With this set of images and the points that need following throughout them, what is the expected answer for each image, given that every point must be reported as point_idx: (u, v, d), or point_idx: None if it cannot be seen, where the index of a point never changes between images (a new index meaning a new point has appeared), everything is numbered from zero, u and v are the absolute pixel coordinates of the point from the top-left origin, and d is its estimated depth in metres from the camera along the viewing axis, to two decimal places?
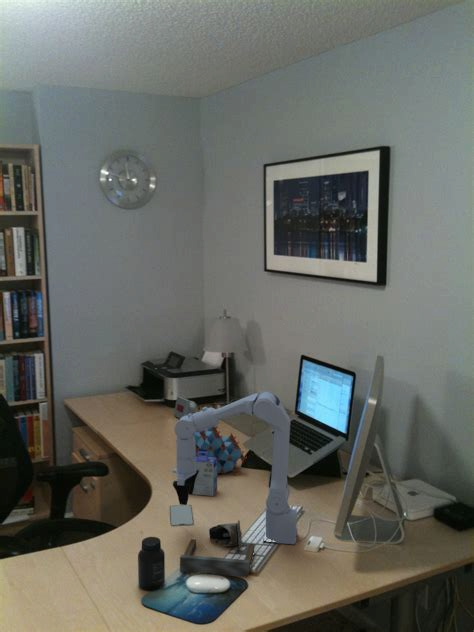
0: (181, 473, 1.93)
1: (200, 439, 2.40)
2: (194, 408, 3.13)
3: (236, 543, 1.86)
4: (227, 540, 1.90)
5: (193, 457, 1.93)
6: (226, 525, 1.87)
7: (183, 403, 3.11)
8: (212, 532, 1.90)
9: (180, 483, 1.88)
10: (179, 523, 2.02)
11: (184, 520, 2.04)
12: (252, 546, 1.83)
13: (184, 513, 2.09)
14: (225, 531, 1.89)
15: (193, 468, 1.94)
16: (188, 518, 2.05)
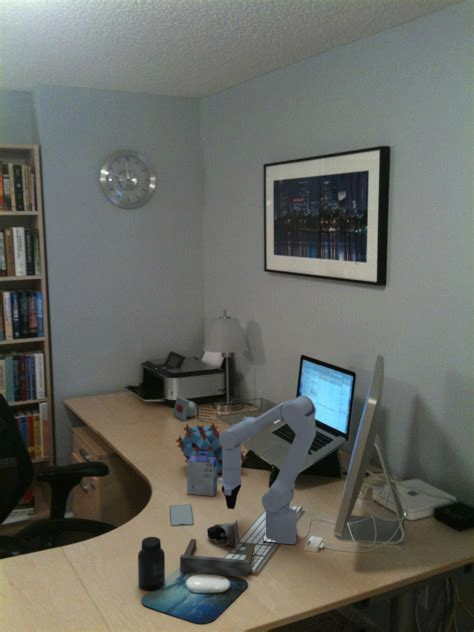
0: (227, 483, 1.97)
1: (200, 439, 2.40)
2: (193, 408, 3.13)
3: (233, 543, 1.86)
4: (225, 540, 1.90)
5: (239, 467, 1.98)
6: (223, 525, 1.87)
7: (182, 403, 3.11)
8: (210, 532, 1.90)
9: (227, 493, 1.93)
10: (179, 523, 2.02)
11: (184, 520, 2.04)
12: (252, 546, 1.83)
13: (184, 513, 2.09)
14: (222, 531, 1.89)
15: (239, 478, 1.98)
16: (188, 518, 2.05)
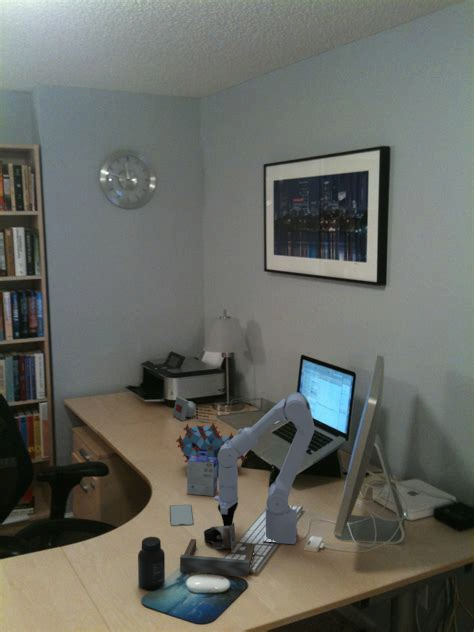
0: (223, 501, 1.91)
1: (200, 439, 2.40)
2: (193, 408, 3.13)
3: (228, 546, 1.84)
4: (221, 542, 1.88)
5: (235, 485, 1.92)
6: (219, 527, 1.86)
7: (182, 403, 3.11)
8: (206, 534, 1.88)
9: (223, 512, 1.87)
10: (179, 523, 2.02)
11: (184, 520, 2.04)
12: (252, 546, 1.83)
13: (184, 513, 2.09)
14: (219, 533, 1.87)
15: (235, 496, 1.92)
16: (188, 518, 2.05)
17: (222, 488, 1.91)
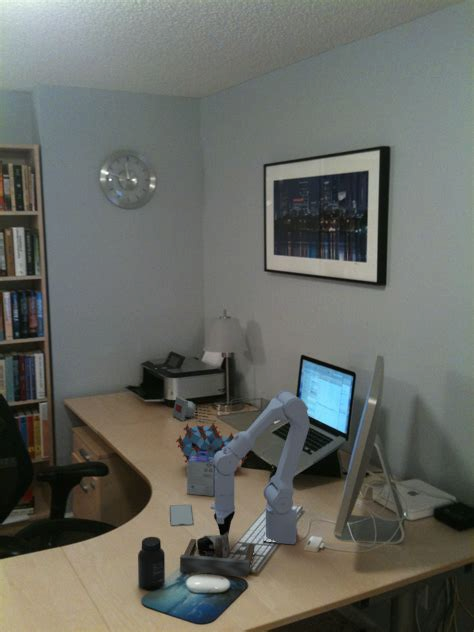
0: (220, 510, 1.85)
1: (200, 439, 2.40)
2: (192, 409, 3.13)
3: (220, 556, 1.78)
4: (214, 552, 1.82)
5: (232, 493, 1.86)
6: (212, 537, 1.80)
7: (181, 403, 3.11)
8: (199, 543, 1.83)
9: (219, 521, 1.81)
10: (179, 523, 2.02)
11: (184, 520, 2.04)
12: (252, 546, 1.83)
13: (184, 513, 2.09)
14: (211, 543, 1.81)
15: (232, 505, 1.86)
16: (188, 518, 2.05)
17: (218, 496, 1.85)
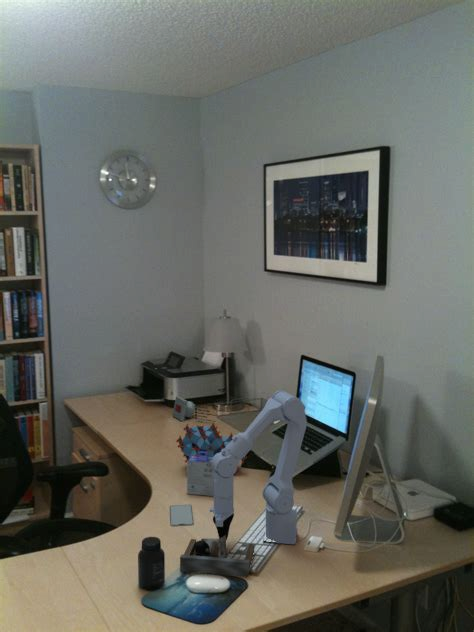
0: (219, 513, 1.83)
1: (200, 439, 2.40)
2: (192, 409, 3.12)
3: None
4: None
5: (231, 496, 1.84)
6: (208, 540, 1.78)
7: (181, 403, 3.11)
8: (196, 545, 1.82)
9: (218, 524, 1.79)
10: (179, 523, 2.02)
11: (184, 520, 2.04)
12: (252, 546, 1.83)
13: (184, 513, 2.09)
14: (208, 546, 1.80)
15: (231, 507, 1.84)
16: (188, 518, 2.05)
17: (217, 499, 1.83)
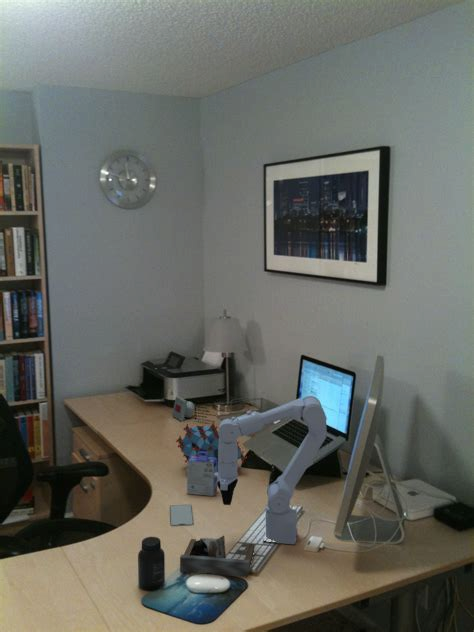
0: (223, 478, 1.88)
1: (200, 439, 2.40)
2: (191, 409, 3.12)
3: None
4: None
5: (235, 461, 1.89)
6: (207, 540, 1.79)
7: (180, 403, 3.11)
8: (195, 545, 1.82)
9: (223, 488, 1.84)
10: (179, 523, 2.02)
11: (184, 520, 2.04)
12: (252, 546, 1.83)
13: (184, 513, 2.09)
14: (206, 546, 1.80)
15: (235, 472, 1.89)
16: (188, 518, 2.05)
17: (222, 464, 1.88)
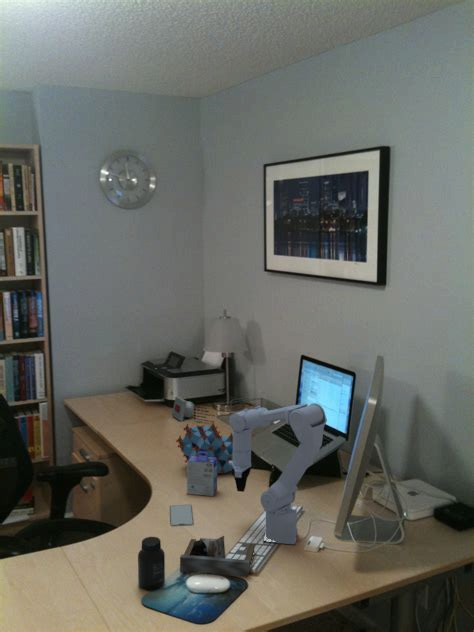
0: (237, 465, 1.98)
1: (200, 439, 2.40)
2: (191, 409, 3.12)
3: None
4: None
5: (249, 450, 1.99)
6: (206, 540, 1.79)
7: (180, 403, 3.11)
8: (194, 545, 1.82)
9: (237, 475, 1.94)
10: (179, 523, 2.02)
11: (184, 520, 2.04)
12: (252, 546, 1.83)
13: (184, 513, 2.09)
14: (206, 546, 1.80)
15: (249, 461, 1.99)
16: (188, 518, 2.05)
17: (236, 453, 1.98)
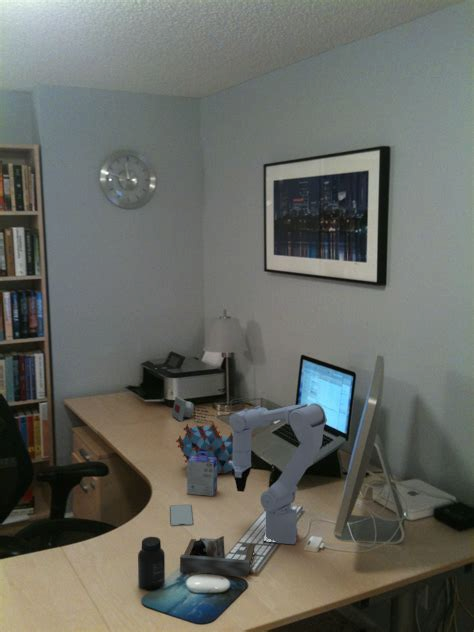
0: (237, 465, 1.98)
1: (200, 439, 2.40)
2: (191, 409, 3.12)
3: None
4: None
5: (249, 450, 1.99)
6: (205, 540, 1.79)
7: (180, 403, 3.11)
8: (194, 545, 1.82)
9: (237, 475, 1.94)
10: (179, 523, 2.02)
11: (184, 520, 2.04)
12: (252, 546, 1.83)
13: (184, 513, 2.09)
14: (206, 546, 1.80)
15: (249, 461, 1.99)
16: (188, 518, 2.05)
17: (236, 453, 1.98)
